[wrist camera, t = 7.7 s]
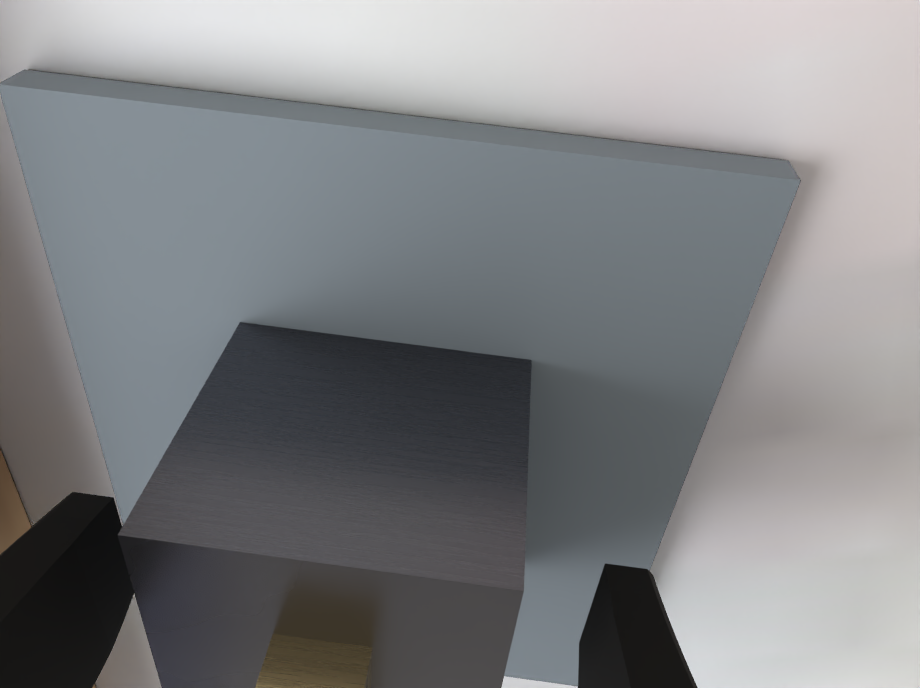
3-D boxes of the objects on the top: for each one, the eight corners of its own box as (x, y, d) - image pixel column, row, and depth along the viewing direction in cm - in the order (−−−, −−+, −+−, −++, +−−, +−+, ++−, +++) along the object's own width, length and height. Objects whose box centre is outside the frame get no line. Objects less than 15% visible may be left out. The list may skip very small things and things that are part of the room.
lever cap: (492, 566, 14) (471, 856, 10) (263, 535, 14) (157, 809, 10) (531, 360, 11) (521, 661, 7) (240, 321, 11) (80, 599, 7)
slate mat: (601, 663, 17) (603, 689, 16) (163, 603, 17) (152, 627, 17) (788, 160, 10) (800, 180, 9) (24, 69, 10) (-2, 84, 9)
